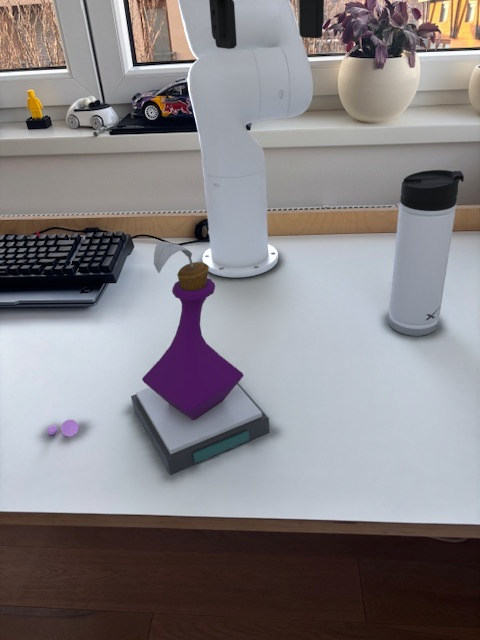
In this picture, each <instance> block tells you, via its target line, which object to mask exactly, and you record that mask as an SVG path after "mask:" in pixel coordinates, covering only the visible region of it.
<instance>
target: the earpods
mask: <svg viewBox="0 0 480 640" xmlns="http://www.w3.org/2000/svg"><path fill="white" fill-rule="evenodd" d="M60 429H61V432H62V434H63V435H64V436H66V437H69V438H70V437H73V436H74V435H76V434H77V433H79V424H78V422H76V421H75V420H74V419H66V420H65V421H63V422H62V423H61V427H60ZM57 431H58V427H57V426H56V425H55V424H52V425H50V426H49V427H48V428H47V430H46V433H47V435H49V436H53V435H54V434H56V433H57Z"/></svg>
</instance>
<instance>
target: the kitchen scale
mask: <svg viewBox="0 0 480 640" xmlns="http://www.w3.org/2000/svg"><path fill="white" fill-rule="evenodd" d="M130 398H131V403H132V407H133V408H132V409H133V411H134V412H135V414H136V416H137V418H138V420H139V422H140V423H141V425H142V428H143V429H144V430H145V432H146V434H147V435H148V437H149V439H150V441H151V443H152V445H153V447H154V448H155V450H156V451H157V453H158V456H159V458H160V459H161V461H162V462H163V465H164V466H165V469H166V470H167V471H168V473H169V475H173V474H176V473H178V472H180V471H182V470H185V469H188V468H189V467H193V466H194V465H197V464H199V463H201V462H204V461H206V460H208V459H211V458H213V457H215V456H217V455H220V454H222V453H225V452H227V451H229V450H232V449H234V448H237V447H238V446H241V445H243V444H246V443H248V442H250V441H252V440H255V439H257V438H259V437H262V436H264V435H266V434H269V433H270V419H269V416H267V414H266V413H265V412H264V410H263V409H262V408H260V406H259V405H258V404H257V403H256V402H255V401H254V400H253V398H252V397H251V396H250V395H249V394H248V392H247V391H246V390H245V389H244V388H243V386H241V385H240V384H239V382H238V383H237V385H236V386H235V387H234V388H233V389H232V391H231V392H230V393H229V394H228V395H227V397H226V398H225V399H224V400H223V401H222V402H221V403H219V404H218V405H216V406H215V407H213V408H212V409H210V410H209V411H207V412H206V413H204V414H203V415H201V416H200V417H198V418H197V419H195V420H192V419H190V418H189V417H187V416H186V415H185V414H183V413H182V412H180V411H179V410H178V409H176V408H175V407H173V406H172V405H170V404H169V403H168V402H167V401H165V400H164V399H163V398H162V397H161V396H160V395H158V394H157V393H156V392H155V391H154V390H152V389H151V388H150V387H147V388H144V389H142V390H139V391H136V392H135V394H132V395H130Z"/></svg>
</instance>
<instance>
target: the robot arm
mask: <svg viewBox="0 0 480 640" xmlns="http://www.w3.org/2000/svg"><path fill="white" fill-rule="evenodd" d="M177 2H178V8H179V11H180V16H181V21H182V24H183V28H184V34H185V38H186V40H187V41H186V42H187V44H188V46H189V49H190V51H191V53H192V55H193V56H194V57H195V58H196V60H195V61H194V62H193V63H192V64H191V66H190V67H189V71H188V74H187V89H188V95H189V100H190V103H191V107H192V108H191V109H192V112H193V116H194V119H195V124H196V130H197V134H198V135H197V136H198V141H199V147H200V155H201V156H200V157H201V166H202V175H203V182H204V183H203V185H204V194H205V195H204V196H205V206H206V217H207V226H208V227H207V228H208V231H207V235H208V237H209V246H210V247H209V248H208V249H206V251H205V252H204V253H203V255H202V258H201V262H202V263H205V264H207V265H208V266H209V269H208V273H211V274H213V275H216V276H219V277H223V278H233V279H234V278H237V279H239V278H248V277H253V276H257V275H262V274H264V273H266V272H268V271H270V270H272V269H273V268H274V267H275V266H276V265H277V264H278V261H279V252H278V250H277V249H276V248H275V246H273V245H271V243H270V244H269V228H268V227H269V225H268V197H267V174H266V173H267V172H266V171H267V170H266V156H265V151H264V149H263V147H262V145H261V144H260V142H259V141H258V139H257V138H256V137H254V135H252V134H251V132H249V130H248V129H247V126H248V125H249V124H254V123H258V122H266V121H274V120H275V121H276V120H284V119H291V118H295V117H299V116H301V115H302V114H304V113H305V112H306V111H307V110H308V109H309V107H310V105H311V103H312V100H313V95H314V78H313V73H312V68H311V64H310V60H309V56H308V53H307V51H306V47H305V45H304V42H303V38H306V39H321V38H322V37H323V26H324V21H325V12H324V11H325V0H298V6H299V7H298V11H299V12H298V13H299V15H298V17H299V19H298V20H299V21H297V18H296V15H295V12H294V8H293V6H292V3H291V2H290V0H177ZM298 24H299V25H298Z"/></svg>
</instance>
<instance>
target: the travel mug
mask: <svg viewBox="0 0 480 640" xmlns="http://www.w3.org/2000/svg"><path fill="white" fill-rule="evenodd" d="M464 178H465V177H464V174H463V172H462V170H454V171H453V170H446V169H430V170H423V171H418V172H415V173H412V174H409V175H407V176H405V177H404V178H403V181H402V182H401V189H400V199H399V206H398V213H397V214H398V215H397V224H396V235H395V246H394V258H393V266H392V277H391V278H392V279H391V287H390V288H391V289H390V299H389V309H388V310H389V311H388V319H387V321H388V324H389V326H390V328H392V330H394V331H395V332H398V333H400V334H402V335H407V336H411V337H418V336H419V337H420V336H427V335H430V334H432V333H434V332H435V331H436V330H437V329H438V327H439V322H440V315H441V310H442V309H441V308H442V301H443V295H444V289H445V282H446V276H447V270H448V262H449V255H450V249H451V243H452V237H453V230H454V224H455V216H456V208H457V204H458V203H457V201H458V200H457V199H458V193H459V183H460V181H461V183H463V182H464V181H465V180H464Z"/></svg>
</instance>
